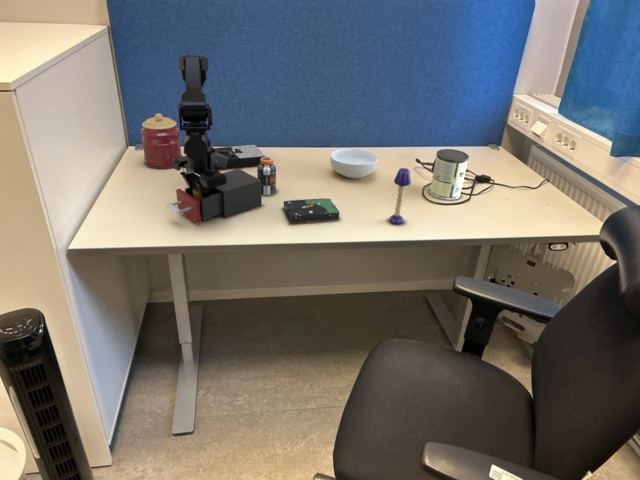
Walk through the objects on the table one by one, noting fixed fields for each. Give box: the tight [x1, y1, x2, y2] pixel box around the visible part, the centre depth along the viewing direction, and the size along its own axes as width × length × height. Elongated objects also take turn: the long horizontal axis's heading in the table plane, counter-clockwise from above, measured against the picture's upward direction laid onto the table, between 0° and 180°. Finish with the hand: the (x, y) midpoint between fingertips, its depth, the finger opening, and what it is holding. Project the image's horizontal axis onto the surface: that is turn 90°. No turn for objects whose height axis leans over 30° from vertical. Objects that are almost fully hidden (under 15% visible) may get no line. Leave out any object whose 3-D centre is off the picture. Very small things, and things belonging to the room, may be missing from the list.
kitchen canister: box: [140, 113, 183, 169], centre depth 165 cm, size 13×13×18 cm
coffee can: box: [429, 148, 470, 201], centre depth 156 cm, size 10×10×14 cm
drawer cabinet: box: [214, 168, 263, 219], centre depth 141 cm, size 13×11×8 cm
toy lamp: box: [388, 167, 411, 226], centre depth 135 cm, size 5×5×17 cm
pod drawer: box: [166, 187, 223, 225], centre depth 134 cm, size 17×10×7 cm, turn 134°
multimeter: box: [213, 144, 266, 171], centre depth 172 cm, size 13×19×5 cm
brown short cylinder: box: [193, 187, 202, 206], centre depth 133 cm, size 4×4×4 cm
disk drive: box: [283, 198, 340, 224], centre depth 140 cm, size 10×3×15 cm
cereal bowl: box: [329, 148, 379, 179], centre depth 168 cm, size 17×17×7 cm
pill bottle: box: [256, 156, 277, 196], centre depth 150 cm, size 6×6×11 cm
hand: (201, 199), depth 134 cm, fingers closed on brown short cylinder, 4 cm apart
